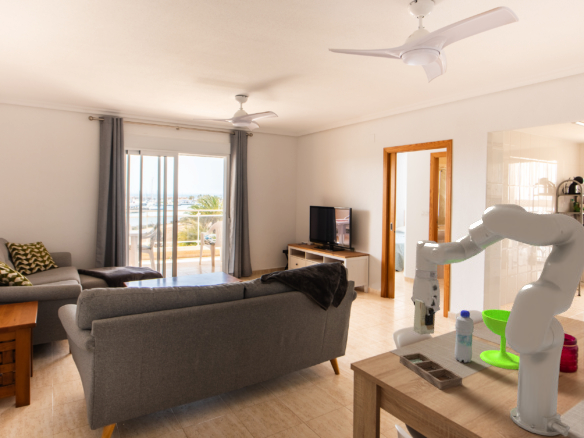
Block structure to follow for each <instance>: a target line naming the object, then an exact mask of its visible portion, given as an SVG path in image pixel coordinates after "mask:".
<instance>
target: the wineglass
mask: <svg viewBox="0 0 584 438" xmlns="http://www.w3.org/2000/svg"><path fill="white" fill-rule="evenodd" d="M510 312H511V310H506V309H493V308H492V309H491V308H490V309H484V310H482V311H481V317H482V320H483V323H484V325H485V326H486V328H487V329H488V330H489V331H491V332H492V333H494V334H495V335H498V336H500V345H499V348H500V349H499V350H497V349H496V350H495V349H489V350H484V351H482V352H481V353H479V358H480V359H481V360H482V361H483V362H484V361H485V362H484V363H486V364H489V365H490V366H493V367H497V368H501V369H506V370H514V371H515V370H519V358H520V355H516V354H514V353H512V352H509V351H506V349H507V340H506V337H505V329H506V324H507V321H508V318H509V315H510Z"/></svg>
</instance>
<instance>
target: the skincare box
mask: <svg viewBox="0 0 584 438" xmlns="http://www.w3.org/2000/svg"><path fill="white" fill-rule="evenodd" d="M429 309H430V310H431V308H429ZM413 314H414V315H413V316H414V317H413V332H415V333H417V334H419V335H420V336H422V335H430V334H434V333H435V320H436V314H435V315H433V325H429V326H426V325H425V315H427V313H426V306H424V302H422V301H420V300H418V299H415V306H414V313H413Z"/></svg>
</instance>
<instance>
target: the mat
mask: <svg viewBox="0 0 584 438" xmlns="http://www.w3.org/2000/svg"><path fill="white" fill-rule="evenodd" d="M409 361H411V362H412V363H417V362H422V360H420V359H415V360H409Z"/></svg>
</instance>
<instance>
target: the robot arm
mask: <svg viewBox="0 0 584 438" xmlns="http://www.w3.org/2000/svg"><path fill="white" fill-rule="evenodd" d="M505 239H507V240H508V239H509V240H511V241H515V242H519V243H522V244H526V245H530V246H534V247H548V246H552V249H551V251H550V253H549V254H548V256H547V257H546V260H545V262H544V265H543V269H542V271H541V273H540V276H539V278H538V279H537V280H535V281H532V282H529V283H526V284H524V286H522V287H521V288H520V289H519V291H518V292H517V293H516V295H515V298H514V301H513V304H512V306H511V310H510V311H511V312H510V315H509V318H508V321H507V324H506V329H505V337H506V344H508V346H509V347H510V349H512V350H513V351H514V352H516V353H518V354H519V357H520V358H519V369H518V373H517V374H518V377H517V392H516V393H517V396H516V397H517V398H516V406H515V407H513V408H512V409H511V410H510V412H509V413H510V414H509V415H510V419H511V420H512V422H513V423H515V424H516V425H517V426H519V428H522V429H523V430H526V431H529V432H530V433H533V434H536V435H541V436H549V437H551V436H552V437H555V436H557V435H562V436H564V437H568V436H569V433H570V432H569V431H570V425H568V424H567V423H564V422H562V420H561V414H560V413H558V398H559V397H558V396H559V395H558V393H559V392H558V391H559V378H560V377H559V376H560V366H561V365H560V364H561V356H562V352H563V351H562V350H563V347H564V342H565V330H564V327H563V325H562V323H561V322H560V320H559V319H558V318H557V317H555V316H557V315H561V314H563V313H565V312H567V311H568V310H569V309H571V307H572V304H573V301H574V299H575V295H576V293H577V290H578V287H579V285H580V281H581V279H582V276H583V272H584V225H583V224H582V223H581V222H580V221H578V219H576V218H575V217H573V216H570V215H567V214H565V213H564V214H563V213H535V212H530V211H527V210H526V209H525V208H524V207H523V206H520V205H518V204H513V203H510V204H509V203H508V204H507V203H506V204H505V203H502V204H501V203H500V204H493V205H491V206H489V207H488V208H486V210H484V212H483V214H482V217H481V219H479V220H477V221H475V222H473V223H472V224H470V225H469V227H468V234H467V235H465V236H463V237H461V238H459V239H458V240H455V241H451V242H450V241H449V242H448V241H447V242H436V241H435V240H427V239H426V240H423V239H422V240H418V241H417V242H416V245H415V247H416V252H415V270H414V271H415V276H414V279H413V285H412V296H411V298H410V299H411V302H412V303H413V305H414V307H415V299H418V300H420V301H422V302H424V306H426V313H427V315H425V325H426V326H429V325H433V315H435V316H436V313H438V312H439V311H440V310H441V307H440V304H441V295H440V294H441V293H440V292H441V290H440V289H441V288H440V282H439V279H438V276H439V275H438V265H439V266H445V265H452V264H458V263H462V262H464V261H467V260H469V259H472V258H474V257H475V256H478V255H479V254H481V253H482V252H483V251H484V250H486V249H487V248H488V247H490V246H493V245H494V244H497V243H498V242H500V241H502V240H503V241H504V240H505ZM429 308H431V310H430V309H429Z"/></svg>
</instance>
